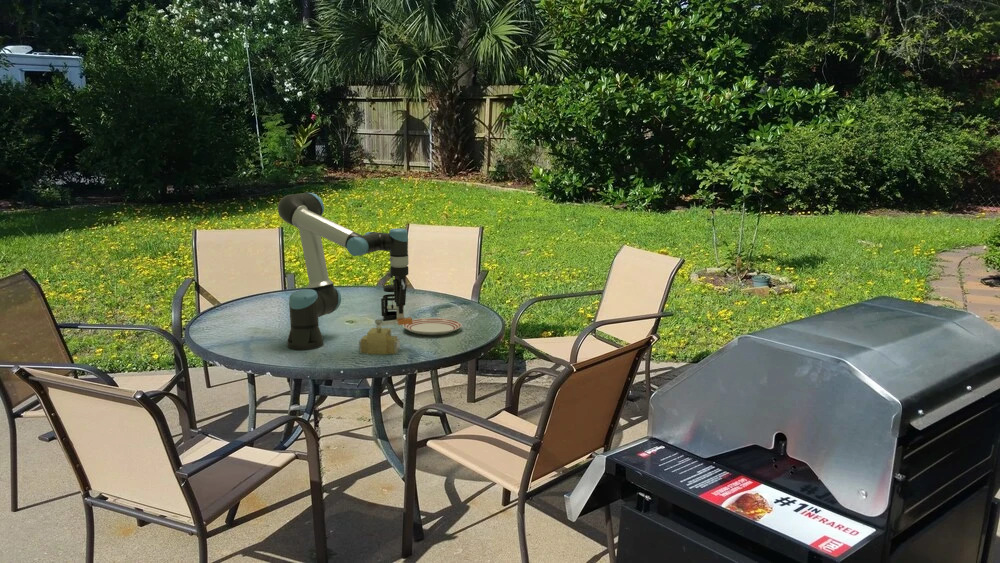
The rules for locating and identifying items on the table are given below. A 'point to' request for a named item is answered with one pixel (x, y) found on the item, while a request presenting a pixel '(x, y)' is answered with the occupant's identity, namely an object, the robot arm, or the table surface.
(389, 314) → the french press
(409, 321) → the valve lever
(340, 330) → the table surface
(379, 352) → the valve pipe
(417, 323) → the dinner plate
